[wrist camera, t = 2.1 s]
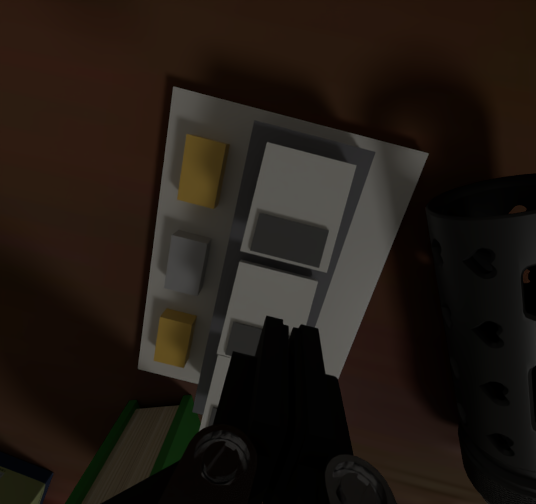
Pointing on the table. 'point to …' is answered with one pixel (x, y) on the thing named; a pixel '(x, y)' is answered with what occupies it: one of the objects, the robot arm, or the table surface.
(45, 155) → the table surface
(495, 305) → the muzzle brake
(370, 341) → the table surface
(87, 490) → the hardback book
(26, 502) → the protein box
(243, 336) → the switch middle
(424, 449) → the table surface
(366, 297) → the panel
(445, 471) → the table surface
